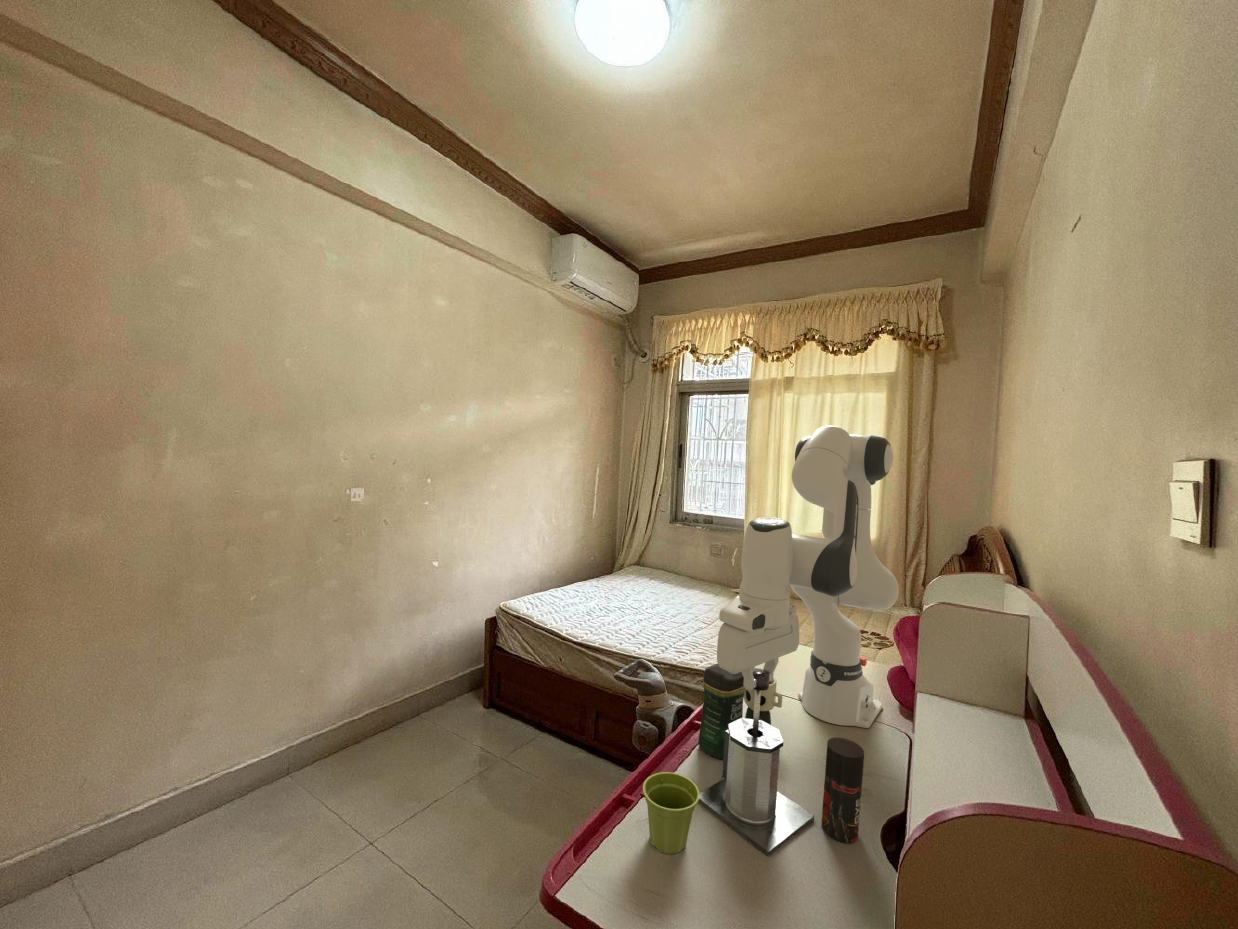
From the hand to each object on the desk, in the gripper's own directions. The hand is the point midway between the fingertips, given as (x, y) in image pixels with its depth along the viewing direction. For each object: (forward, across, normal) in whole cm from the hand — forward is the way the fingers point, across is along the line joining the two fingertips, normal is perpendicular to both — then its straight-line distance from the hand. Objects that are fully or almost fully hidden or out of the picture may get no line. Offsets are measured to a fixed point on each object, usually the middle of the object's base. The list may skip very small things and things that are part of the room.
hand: (758, 684), depth 91 cm
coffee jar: (+24, -11, -16) cm, 31 cm away
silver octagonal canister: (+24, 0, 0) cm, 24 cm away
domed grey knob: (+12, 0, 0) cm, 12 cm away
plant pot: (+24, +17, -4) cm, 30 cm away
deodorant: (+24, -10, +12) cm, 28 cm away
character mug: (+24, -23, -15) cm, 37 cm away
